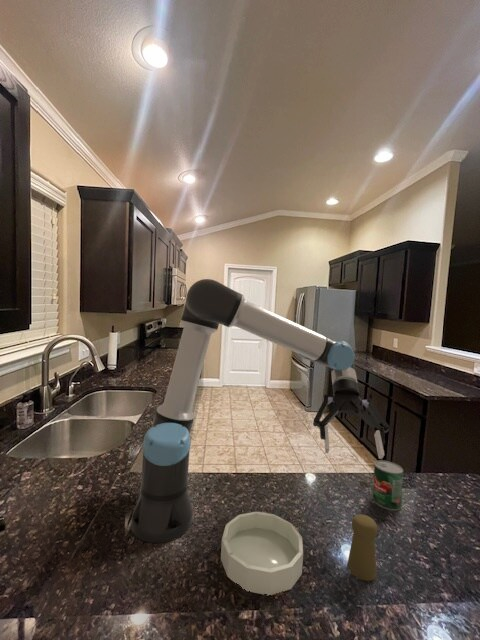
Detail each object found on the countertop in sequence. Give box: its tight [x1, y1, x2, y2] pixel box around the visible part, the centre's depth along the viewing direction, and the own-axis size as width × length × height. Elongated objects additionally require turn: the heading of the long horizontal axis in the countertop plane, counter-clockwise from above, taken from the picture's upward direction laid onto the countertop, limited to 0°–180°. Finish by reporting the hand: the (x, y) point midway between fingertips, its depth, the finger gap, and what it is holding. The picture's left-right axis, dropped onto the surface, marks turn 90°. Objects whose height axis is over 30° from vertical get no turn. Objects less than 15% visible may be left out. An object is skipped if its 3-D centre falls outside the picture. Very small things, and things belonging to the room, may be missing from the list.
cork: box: [347, 514, 378, 582], centre depth 65 cm, size 6×6×11 cm
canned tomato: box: [372, 459, 404, 512], centre depth 91 cm, size 8×8×11 cm
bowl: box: [220, 511, 304, 596], centre depth 66 cm, size 18×18×4 cm
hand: (354, 454), depth 78 cm, fingers open, 13 cm apart
